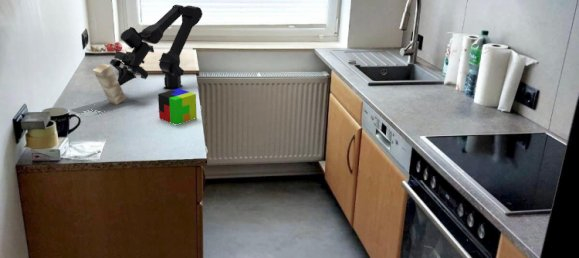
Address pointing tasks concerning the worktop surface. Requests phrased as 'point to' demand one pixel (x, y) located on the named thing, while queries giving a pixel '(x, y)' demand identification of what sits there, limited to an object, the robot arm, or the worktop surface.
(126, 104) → the slate mat
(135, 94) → the worktop surface
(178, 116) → the puzzle toy
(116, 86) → the birch block
